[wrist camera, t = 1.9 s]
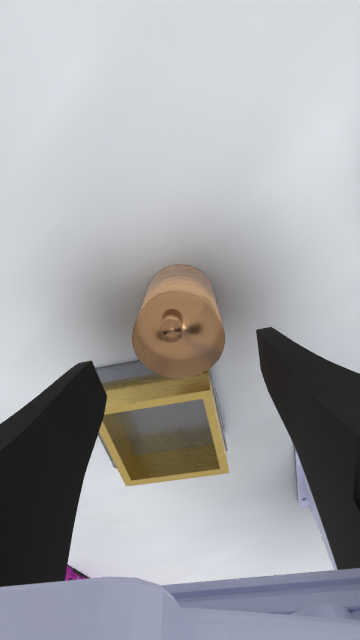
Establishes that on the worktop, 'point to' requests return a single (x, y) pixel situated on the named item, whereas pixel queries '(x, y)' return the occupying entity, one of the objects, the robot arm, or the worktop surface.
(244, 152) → the worktop surface
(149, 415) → the square open tray
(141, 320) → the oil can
